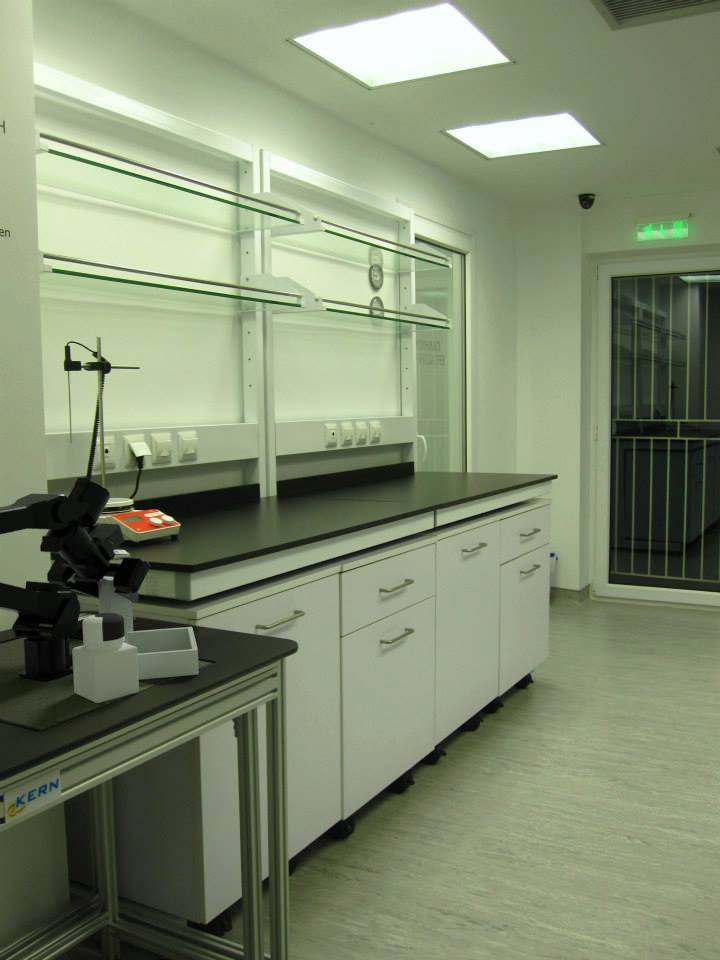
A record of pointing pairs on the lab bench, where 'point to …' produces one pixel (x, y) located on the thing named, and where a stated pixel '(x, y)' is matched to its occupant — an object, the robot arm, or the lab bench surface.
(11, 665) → the lab bench surface
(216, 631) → the lab bench surface
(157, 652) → the open box
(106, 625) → the medicine bottle
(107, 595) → the skincare box
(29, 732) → the lab bench surface
